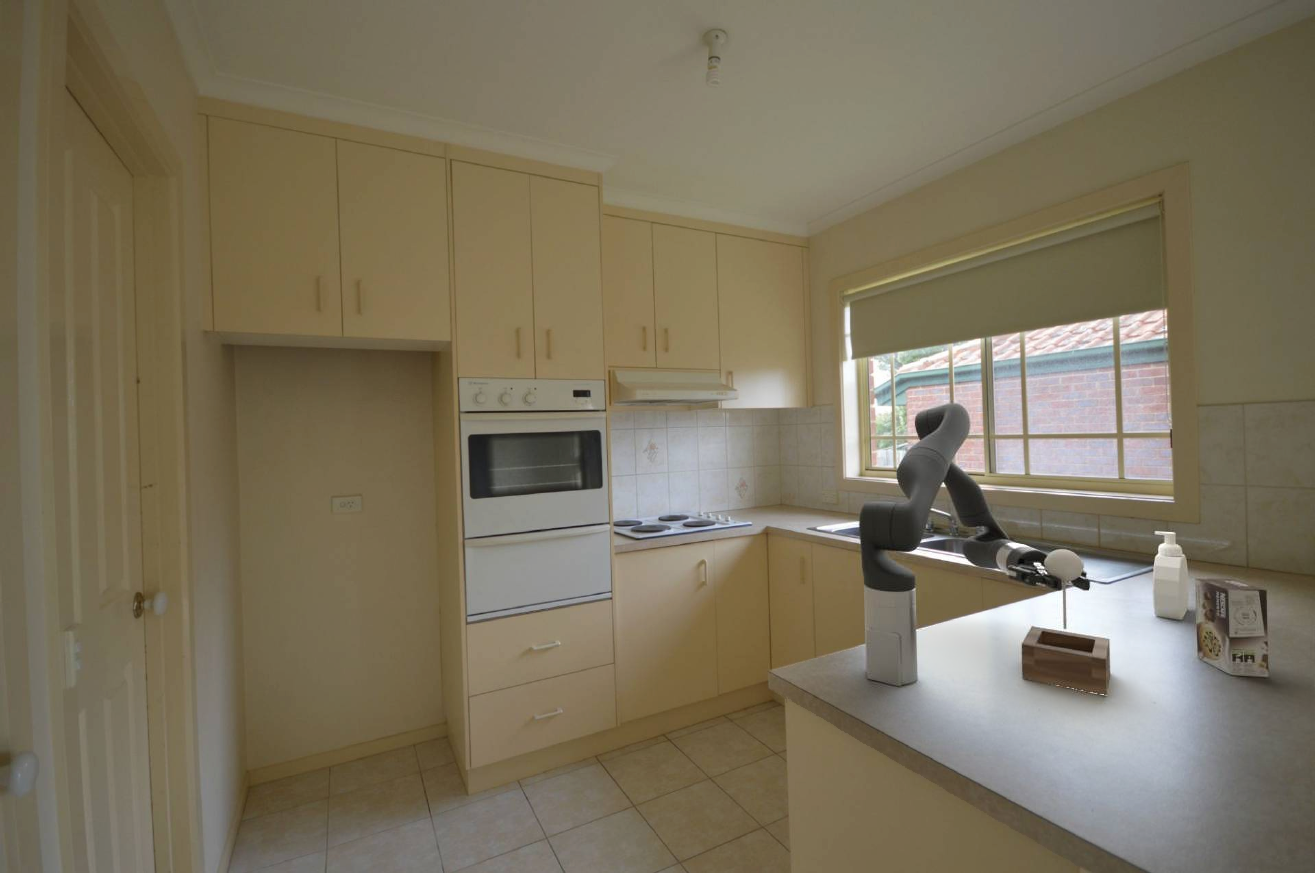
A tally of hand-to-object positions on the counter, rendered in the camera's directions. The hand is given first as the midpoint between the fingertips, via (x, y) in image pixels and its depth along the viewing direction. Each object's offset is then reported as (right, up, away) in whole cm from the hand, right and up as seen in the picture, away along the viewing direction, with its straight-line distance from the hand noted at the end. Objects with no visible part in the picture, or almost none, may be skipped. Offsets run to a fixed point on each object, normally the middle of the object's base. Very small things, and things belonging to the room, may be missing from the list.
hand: (1073, 585), depth 107 cm
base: (+1, -18, +3) cm, 18 cm away
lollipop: (0, -9, +3) cm, 10 cm away
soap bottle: (+51, -17, +37) cm, 65 cm away
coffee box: (+34, -17, +5) cm, 38 cm away
